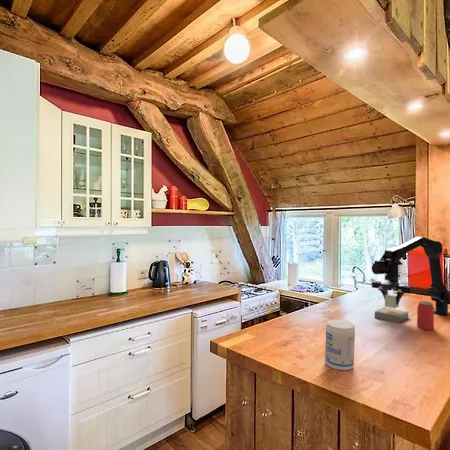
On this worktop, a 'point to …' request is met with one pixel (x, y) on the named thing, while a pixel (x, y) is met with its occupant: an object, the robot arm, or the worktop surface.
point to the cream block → (391, 300)
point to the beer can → (425, 316)
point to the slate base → (391, 315)
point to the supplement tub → (340, 344)
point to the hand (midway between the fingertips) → (391, 303)
